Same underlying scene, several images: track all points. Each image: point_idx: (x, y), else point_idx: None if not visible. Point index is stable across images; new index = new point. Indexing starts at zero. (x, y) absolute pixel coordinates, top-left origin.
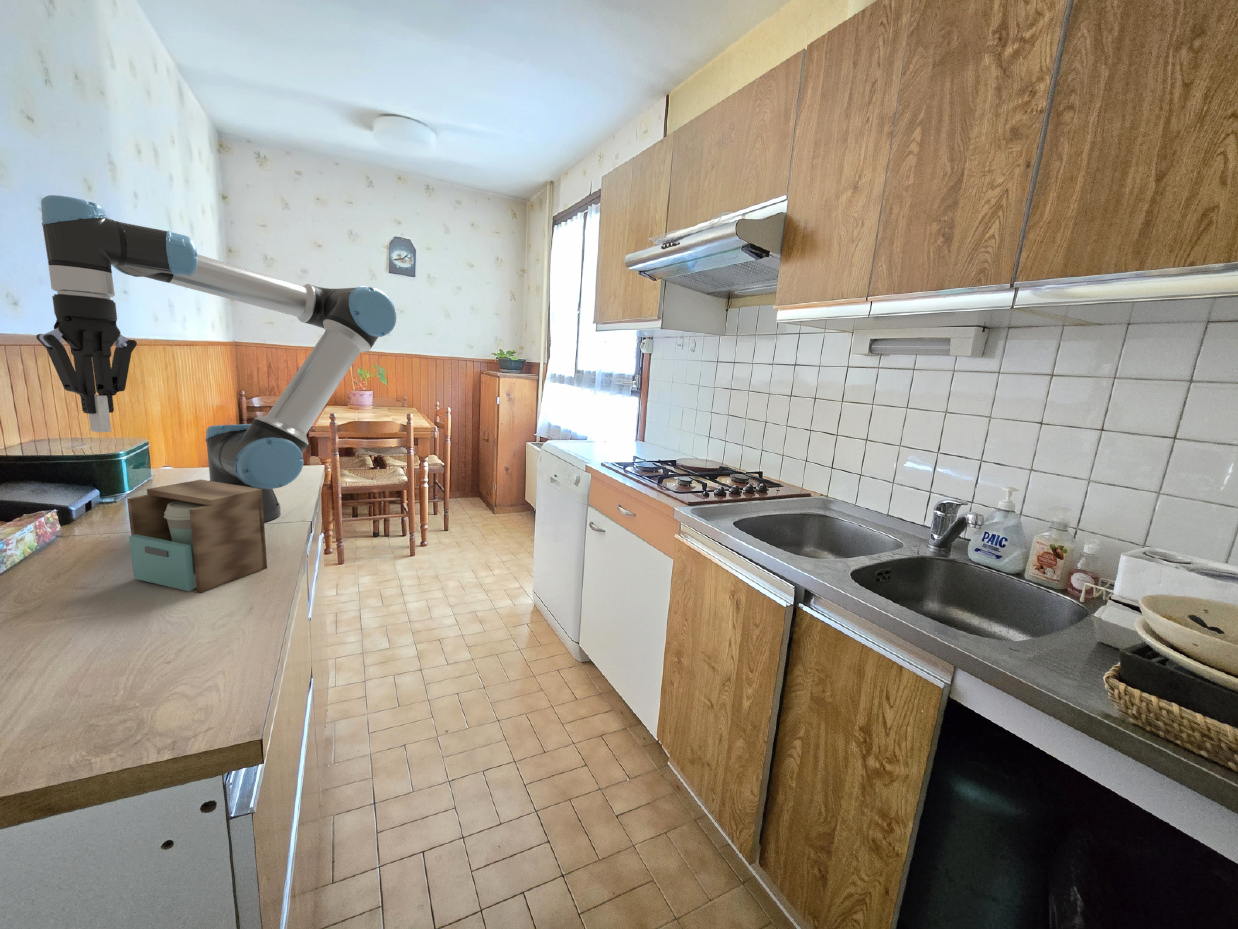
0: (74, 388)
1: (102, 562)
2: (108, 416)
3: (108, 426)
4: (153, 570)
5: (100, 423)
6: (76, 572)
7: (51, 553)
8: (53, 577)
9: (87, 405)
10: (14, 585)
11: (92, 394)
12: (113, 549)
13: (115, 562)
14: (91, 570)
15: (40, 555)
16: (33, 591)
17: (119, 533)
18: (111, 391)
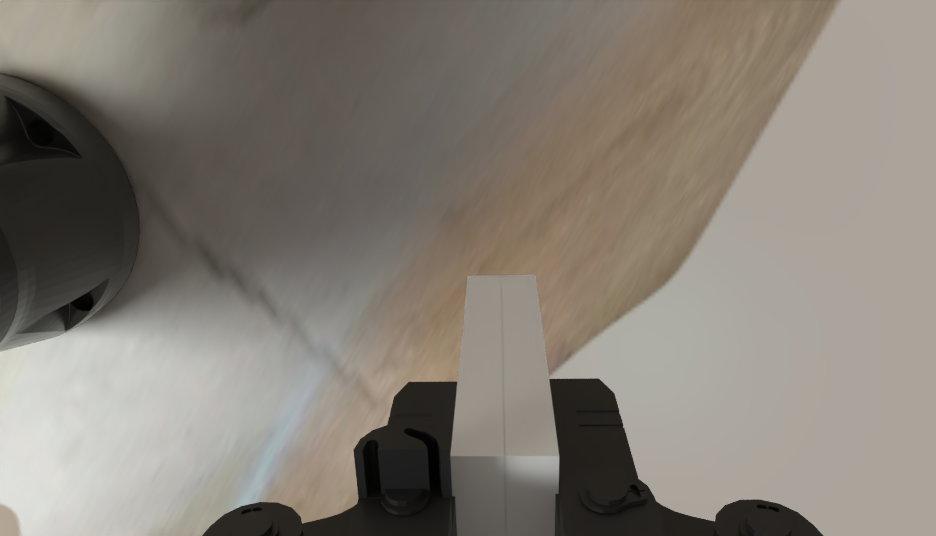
0: (812, 531)
1: (538, 127)
2: (469, 333)
3: (480, 295)
4: None
5: (536, 306)
6: (624, 98)
7: (549, 335)
8: (675, 111)
9: (617, 427)
10: (752, 134)
11: (595, 479)
12: (450, 227)
13: (521, 91)
14: (596, 77)
15: (572, 341)
16: (768, 32)
17: (352, 370)
18: (390, 491)
